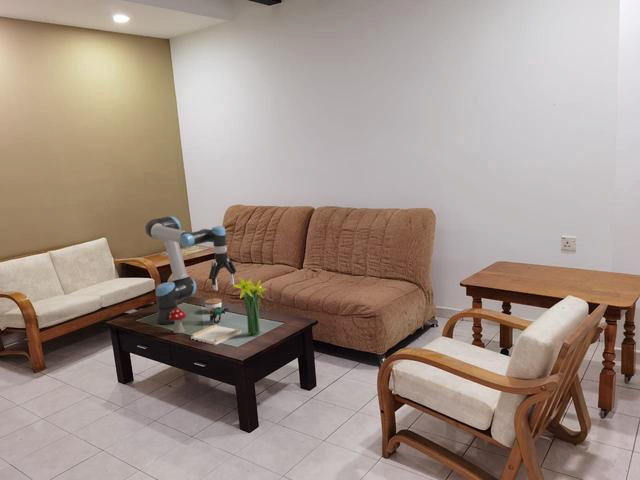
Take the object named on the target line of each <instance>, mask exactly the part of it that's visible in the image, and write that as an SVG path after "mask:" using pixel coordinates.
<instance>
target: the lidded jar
mask: <svg viewBox="0 0 640 480" xmlns="http://www.w3.org/2000/svg"><path fill="white" fill-rule="evenodd" d="M204 305H205V310H206V311H207V312H208V311H209V310H212V307H214V308H216V307H220V308H222V299H221V298H216V297H215V298H212V297H211V298H210V299H206V300H205V301H204Z"/></svg>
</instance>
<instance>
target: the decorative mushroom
mask: <svg viewBox="0 0 640 480" xmlns="http://www.w3.org/2000/svg"><path fill="white" fill-rule="evenodd" d="M185 318H187V316H186V313H185V312H184V311H183V310H182V308H176V309H173V310H172V311H171V312H170V314H169V319H170V320H174V321H175V322H173V326H174V327H173V330H172V332H173V334H174V333H183V334H185V331H186V330H185V328H184V326H183V322H182V320H184V319H185Z"/></svg>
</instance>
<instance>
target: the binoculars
mask: <svg viewBox="0 0 640 480" xmlns="http://www.w3.org/2000/svg"><path fill="white" fill-rule="evenodd" d="M207 312H208V314H209V320H210V322H213V323H214V325H215V324H217V325H218V324H219V323H220V321H221V317H222V315H223V314H224V315H225V314H226V312H229V307H221V308H220V307H216V308H214V307H212V310H209V311H207ZM217 317H218V320H217V322H216V319H217Z"/></svg>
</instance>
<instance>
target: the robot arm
mask: <svg viewBox="0 0 640 480" xmlns="http://www.w3.org/2000/svg"><path fill="white" fill-rule="evenodd" d="M181 228H182V226H181V223H180V220H179V219H178V218H176V216H170V215H169V216H165V217H159V218H153V219H151V220H149V221H148V222H147V223H145V227H144V230H145V233H146V235H147V236H148V237H150V238H152V239H155V240H158V239H160V240H161V241H162V242H164V247H165V250H166V254H167V257H168V262H169V265H170V269H171V272H172V277H173V278H172V280H171V281H168V282H163V283H160V284H159V285H157V286H156V288H155V296H156V303H157V313H156V314H157V315H156V323H157V324H161V325H162V324H163V325H164V324H165V325H166V324H174V322H175V321H174V320H170V319H169V314H170V312H171V311H172V310H173V309H176V308H178V302H179V301H183V300H184V299H188V298H190V297H193V296H194V295H195V293H196V292H197V283H196V281H195V280H194V279H193V278H191V276H190V275H189V274H188V273H187V270H186V266H185V262H184V257H183V253H182V251H181V246H180V245H182V247H184V248H186V247H189V248H190V247H192V246H198V245H200V244H205V243H213V252H214V259H215V262H211V268H210V272H209V276H208V279H209V280H211V284H212V287H213V291H218V290H219V289H218V280H217V277H218V275H219V272H220V270H222V269H223V268H225V269H226V270H227V271H228V272H229V274H228V276H229V277H228V279H229V285H232V286H233V285H235V281H234V279H235V274H236V272H237V269H236V266H235V265H234V263H233V262H232V257H231V258H230V257H229V256H228V246H227V234H226V233H227V232H226V229H225V227H224V226H222V225H221V226H213V227H212V228H211V229H208V228H201V229H199V230H198V231H193V232H190V231H186V230H183V229H181ZM178 309H179V308H178Z"/></svg>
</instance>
